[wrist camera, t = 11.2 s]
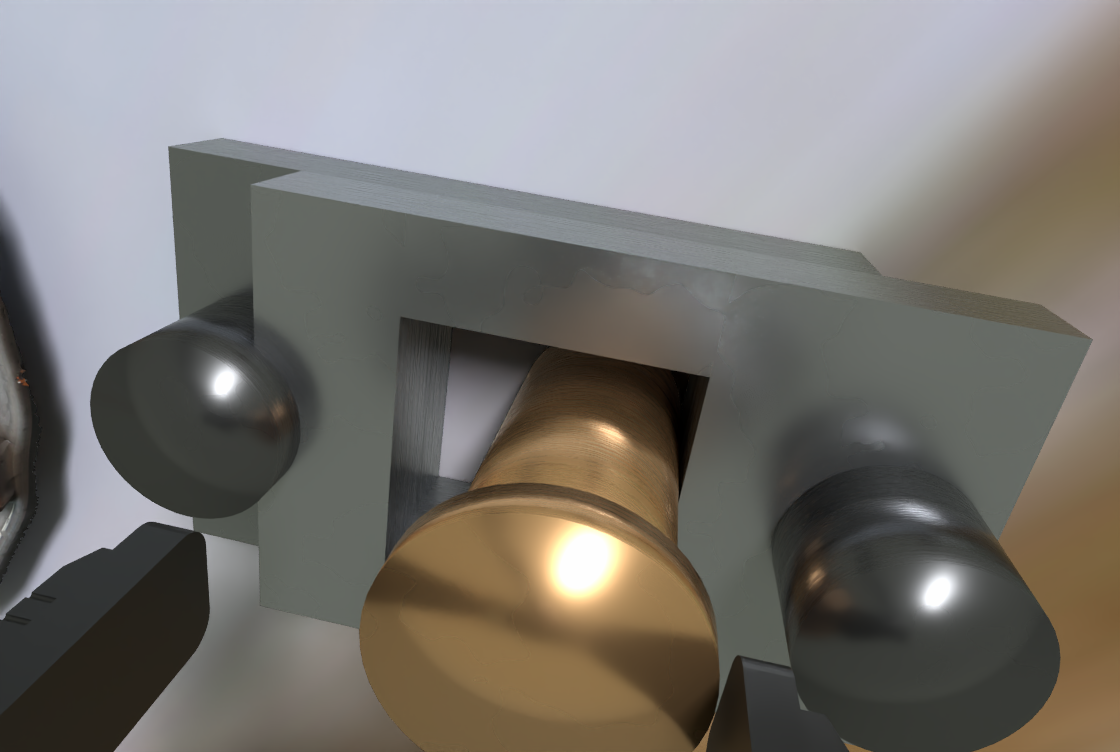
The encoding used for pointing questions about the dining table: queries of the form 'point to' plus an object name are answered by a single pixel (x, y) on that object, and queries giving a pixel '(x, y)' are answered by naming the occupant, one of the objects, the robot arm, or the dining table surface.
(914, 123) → the dining table surface
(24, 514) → the food plate
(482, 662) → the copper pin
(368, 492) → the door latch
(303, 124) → the dining table surface
